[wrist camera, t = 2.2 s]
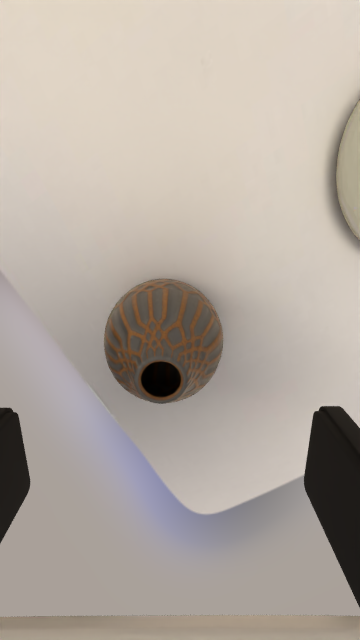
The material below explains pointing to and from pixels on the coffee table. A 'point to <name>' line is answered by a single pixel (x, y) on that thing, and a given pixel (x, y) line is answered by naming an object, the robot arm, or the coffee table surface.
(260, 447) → the coffee table surface
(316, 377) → the coffee table surface
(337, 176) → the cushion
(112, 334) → the vase
